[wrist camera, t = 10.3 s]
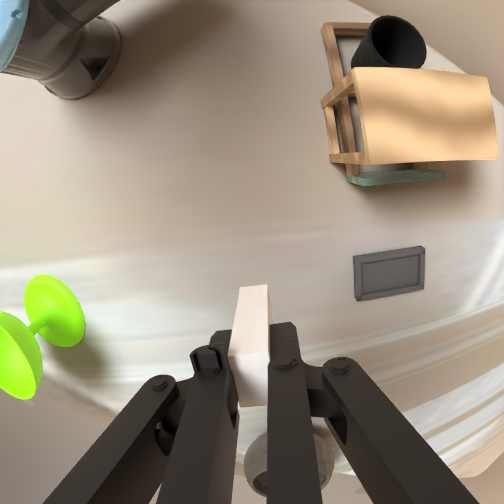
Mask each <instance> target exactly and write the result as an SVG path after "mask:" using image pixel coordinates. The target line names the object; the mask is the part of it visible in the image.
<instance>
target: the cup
mask: <svg viewBox="0 0 504 504" xmlns="http://www.w3.org/2000/svg"><path fill="white" fill-rule="evenodd" d="M426 53H427V51H426V45H425V42H424V40H423V38H422V36H421V35H420V33H419V32H418V30H416V28H415V27H414V26H412V25H411V24H410V23H409V22H407V21H405V20H403V19H402V18H399V17H396V16H388V15H387V16H381V17H379V18H376V19H375V20H374V21H373V22H372V23H371V25H370V26H369V28H368V30H367V32H366V34H365V36H364V37H363V39H362V41H361V43H360V45H359V47H358V48H357V50H356V52H355V54H354V56H353V58H352V60H351V68H352V69H353V68H354V67H388V68H410V69H419V68H420V67H421V66H422V65H423V64H424V62H425V59H426Z"/></svg>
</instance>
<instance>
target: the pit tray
mask: <svg viewBox="0 0 504 504" xmlns="http://www.w3.org/2000/svg"><path fill="white" fill-rule="evenodd" d="M353 265H354V289H355V298H356V300H357V301H361V300H367V299H372V298H378V297H383V296H389V295H394V294H400V293H405V292H410V291H415V290H420V289H424V269H425V248H424V247H422V246H416V247H410V248H403V249H397V250H390V251H383V252H377V253H370V254H363V255H356V256H353Z"/></svg>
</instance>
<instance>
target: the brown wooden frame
mask: <svg viewBox="0 0 504 504" xmlns="http://www.w3.org/2000/svg"><path fill="white" fill-rule="evenodd" d="M354 90H355V93H356V99H357V104H358V110H359V116H360V122H361V129H362V136H363V143H364V151H365V152H352V153H340V151H339V144H338V137H337V130H336V124H335V117H334V111H333V105H335V104H336V103H337V102H339V101H340V100H341V99H343V98H344V97H345V96H347V95H348V94H349V93H351V92H352V91H354ZM321 104H322V108H324V113H325V120H326V126H327V132H328V139H329V146H330V153H331V154H329V156H330V162H332V163H349V164H363V165H378V164H391V163H406V162H424V161H449V160H499V154H498V143H497V134H496V126H495V118H494V112H493V106H492V100H491V95H490V89H489V84H488V80H487V78H486V77H480V76H474V75H468V74H461V73H453V72H445V71H435V70H424V69H410V68H388V67H354V68H353V69H352V70H351V71H350V72H349V73H348V74H347V75H346V76H345V77H344V78H343V79H342V80H341V81H340V82H339V83H338V84H337V85H336V86H335V87H334V88H333V89H332V90H331V91H330V92H329V93H328V94H327V95H326V96H325V97H324V98H323V99H322V100H321Z"/></svg>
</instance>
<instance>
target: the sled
mask: <svg viewBox="0 0 504 504" xmlns="http://www.w3.org/2000/svg"><path fill="white" fill-rule="evenodd" d="M370 25H371V23H324V25H323V27H322V29H321V32H322V36H323V41H324V45H325V50H326V54H327V59H328V63H329V68H330V73H331V78H332V83H333V88H334V87H335V86H336V85H337V84H338V83H339V82H340V81H341V80H342V79H343V78H344V76H343V71H342V66H341V61H340V57H339V52H338V48H337V43H336V39H335V36H336V35H357V36H365V34H366V32H367V30H368V28H369V26H370ZM348 97H356V93H355V90H354V91H352V92H351V93H349V94H348V95H347V96H345V97H344V98H343V99H341V100H340V101H339V102H337V103H336V105H337V111H338V117H339V124H340V130H341V137H342V144H343V151H344V153H352V152H356V147H355V140H354V133H353V126H352V120H351V114H350V108H349V102H348ZM412 164H413V169H407V170H394V171H381V172H369V173H359V171H358V164H349V163H345V166H346V175H347V182H351V183H354V184H358V185H361V186H372V185H383V184H394V183H405V182H417V181H431V180H445V172H441V171H433V170H427V161H424V162H412Z"/></svg>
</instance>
